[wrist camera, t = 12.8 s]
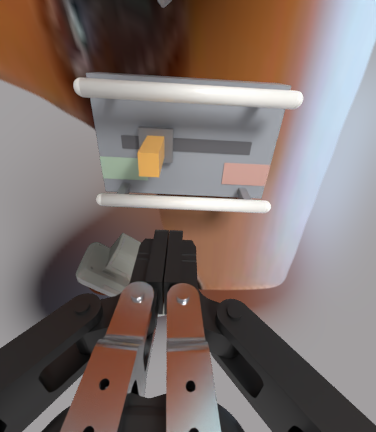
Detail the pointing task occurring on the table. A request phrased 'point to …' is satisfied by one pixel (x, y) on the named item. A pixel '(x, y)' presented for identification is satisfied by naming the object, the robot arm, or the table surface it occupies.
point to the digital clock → (109, 266)
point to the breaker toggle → (154, 150)
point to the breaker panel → (187, 138)
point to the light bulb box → (164, 2)
